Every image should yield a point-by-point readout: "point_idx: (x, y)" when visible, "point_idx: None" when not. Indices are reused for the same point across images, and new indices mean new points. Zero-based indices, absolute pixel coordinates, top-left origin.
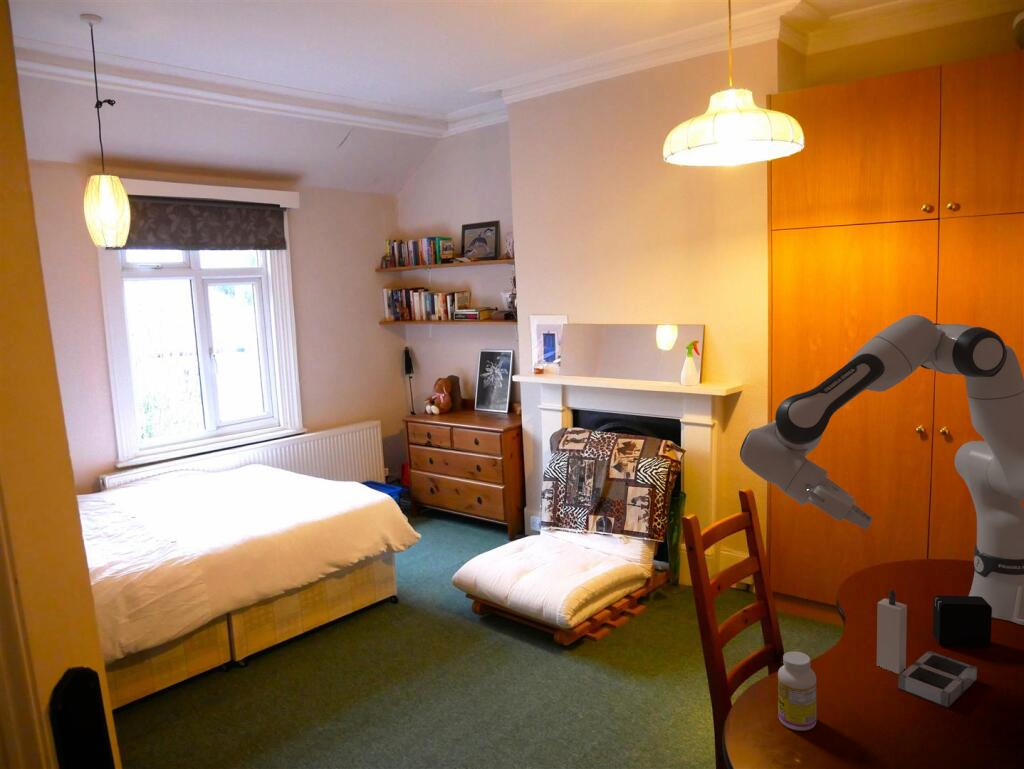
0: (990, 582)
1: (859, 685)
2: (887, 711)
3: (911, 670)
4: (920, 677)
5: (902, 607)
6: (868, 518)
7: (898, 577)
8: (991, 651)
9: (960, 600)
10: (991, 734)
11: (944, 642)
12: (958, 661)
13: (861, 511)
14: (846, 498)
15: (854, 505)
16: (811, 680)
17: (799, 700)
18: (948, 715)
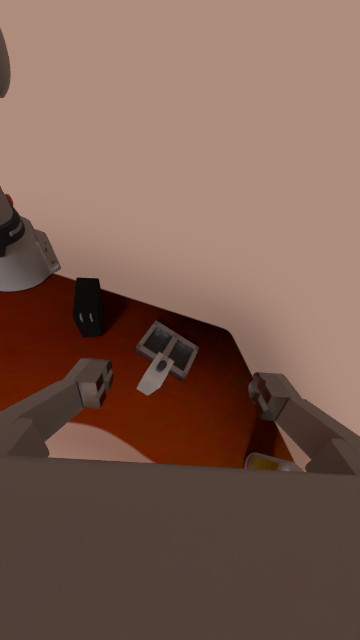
0: (14, 257)
1: (185, 413)
2: (213, 392)
3: (173, 367)
4: None
5: (166, 357)
6: (106, 372)
7: None
8: (107, 303)
9: (88, 296)
10: (212, 334)
11: (102, 331)
12: (149, 329)
13: (58, 398)
14: (187, 576)
15: (14, 446)
16: (299, 467)
17: None
18: (202, 352)
